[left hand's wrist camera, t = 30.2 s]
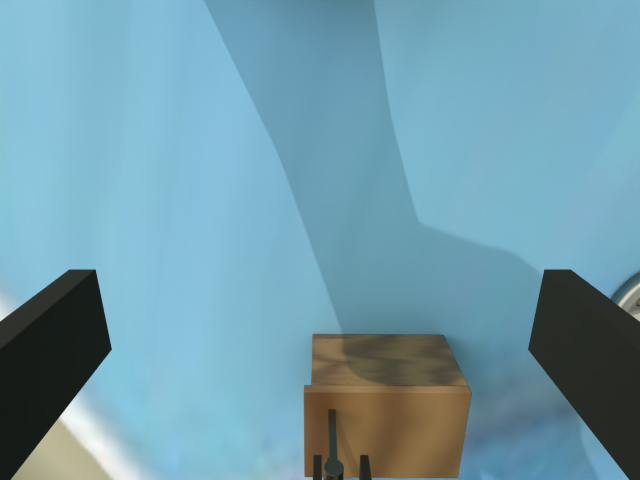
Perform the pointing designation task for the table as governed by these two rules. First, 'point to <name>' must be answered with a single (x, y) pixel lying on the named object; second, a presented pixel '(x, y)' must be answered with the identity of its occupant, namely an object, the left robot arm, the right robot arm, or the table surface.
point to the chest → (384, 361)
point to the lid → (385, 430)
